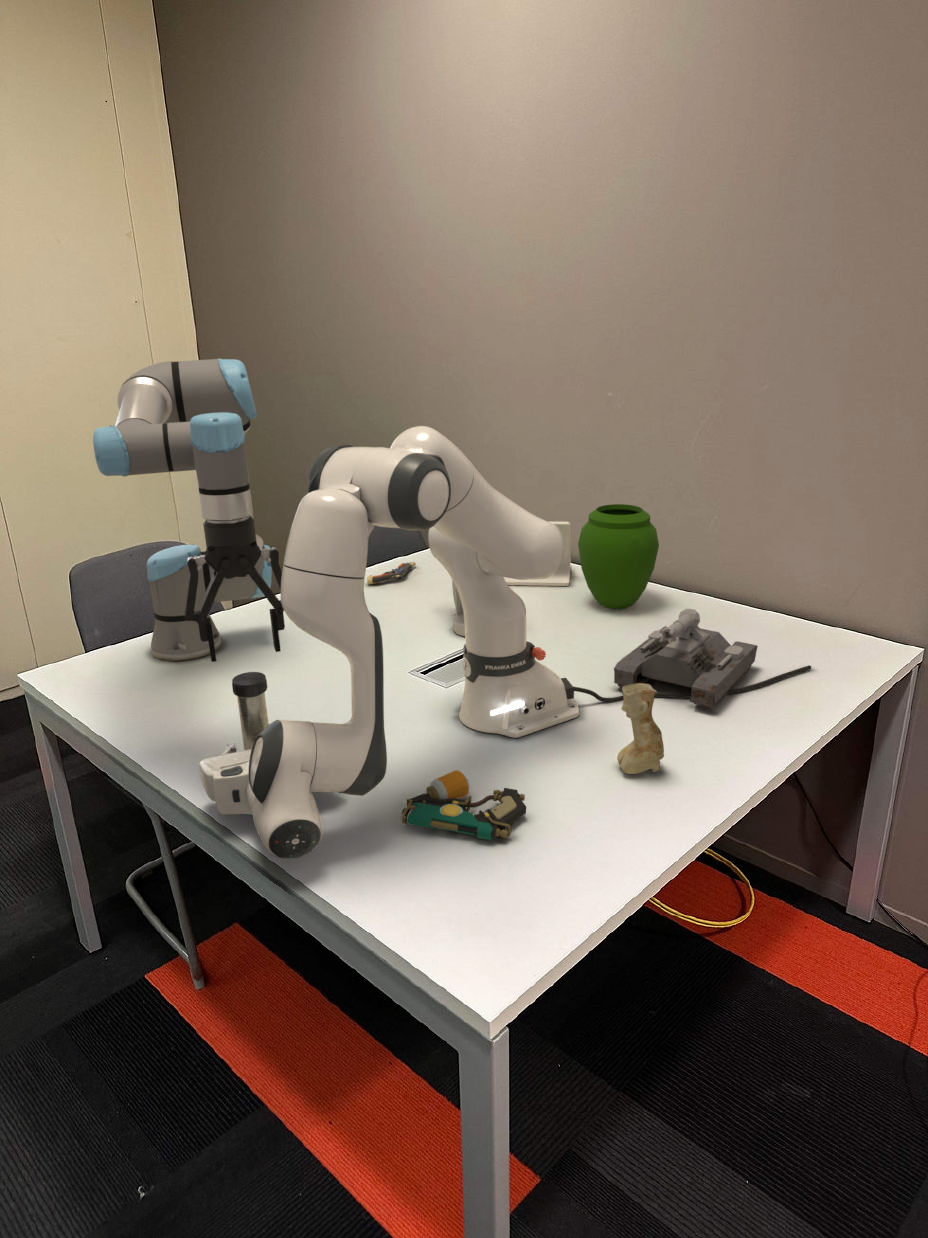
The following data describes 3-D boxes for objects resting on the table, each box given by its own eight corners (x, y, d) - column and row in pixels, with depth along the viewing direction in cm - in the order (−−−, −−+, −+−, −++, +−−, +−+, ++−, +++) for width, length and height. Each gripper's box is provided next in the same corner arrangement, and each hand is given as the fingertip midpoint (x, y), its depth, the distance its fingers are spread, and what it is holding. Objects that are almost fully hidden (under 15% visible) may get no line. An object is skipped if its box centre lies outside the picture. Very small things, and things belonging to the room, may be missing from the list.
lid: (274, 689, 140) (272, 677, 139) (246, 700, 136) (244, 688, 136) (254, 680, 144) (253, 668, 143) (226, 691, 140) (224, 679, 139)
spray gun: (537, 812, 130) (487, 868, 119) (446, 778, 138) (391, 827, 127) (539, 789, 129) (488, 844, 117) (446, 756, 137) (390, 804, 125)
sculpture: (613, 761, 142) (616, 680, 137) (655, 758, 143) (660, 676, 138) (623, 780, 137) (627, 695, 132) (667, 776, 138) (672, 692, 132)
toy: (664, 648, 187) (668, 583, 182) (755, 667, 176) (762, 599, 171) (612, 690, 168) (615, 619, 163) (711, 715, 157) (717, 639, 152)
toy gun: (364, 577, 233) (399, 574, 231) (383, 561, 251) (416, 558, 249) (366, 586, 234) (400, 583, 232) (384, 570, 252) (417, 567, 250)
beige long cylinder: (278, 764, 145) (268, 680, 140) (256, 775, 142) (245, 689, 136) (263, 756, 148) (252, 673, 142) (241, 766, 145) (229, 681, 139)
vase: (599, 587, 227) (601, 497, 218) (668, 600, 216) (673, 505, 208) (562, 608, 212) (564, 513, 204) (634, 623, 202) (639, 523, 193)
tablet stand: (569, 585, 229) (570, 524, 223) (476, 584, 232) (475, 523, 226) (570, 566, 246) (571, 508, 240) (484, 564, 249) (483, 507, 243)
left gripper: (296, 505, 136) (309, 635, 144) (151, 520, 130) (173, 655, 138) (304, 515, 130) (317, 651, 138) (152, 531, 123) (175, 673, 131)
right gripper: (340, 750, 130) (320, 712, 142) (202, 780, 123) (193, 737, 135) (344, 786, 132) (324, 746, 144) (208, 817, 125) (199, 772, 137)
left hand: (245, 653), depth 138 cm, fingers open, 9 cm apart
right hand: (260, 742), depth 140 cm, fingers open, 8 cm apart
